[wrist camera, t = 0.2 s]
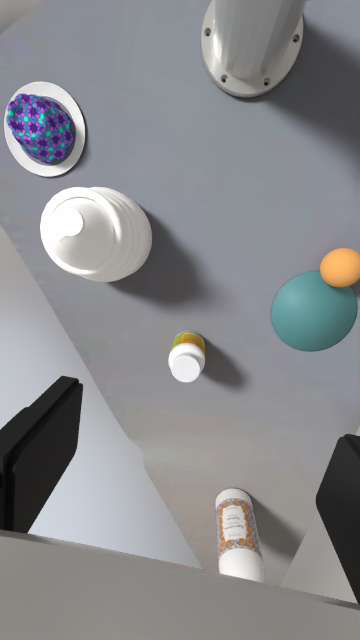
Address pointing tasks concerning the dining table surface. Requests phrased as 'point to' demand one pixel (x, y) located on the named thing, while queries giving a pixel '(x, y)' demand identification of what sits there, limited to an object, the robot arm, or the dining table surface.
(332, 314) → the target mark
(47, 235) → the honey pot
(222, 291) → the dining table surface
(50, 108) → the pudding
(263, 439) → the dining table surface
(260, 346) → the dining table surface
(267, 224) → the dining table surface
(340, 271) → the orange ball
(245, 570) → the bath foam
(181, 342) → the supplement bottle
